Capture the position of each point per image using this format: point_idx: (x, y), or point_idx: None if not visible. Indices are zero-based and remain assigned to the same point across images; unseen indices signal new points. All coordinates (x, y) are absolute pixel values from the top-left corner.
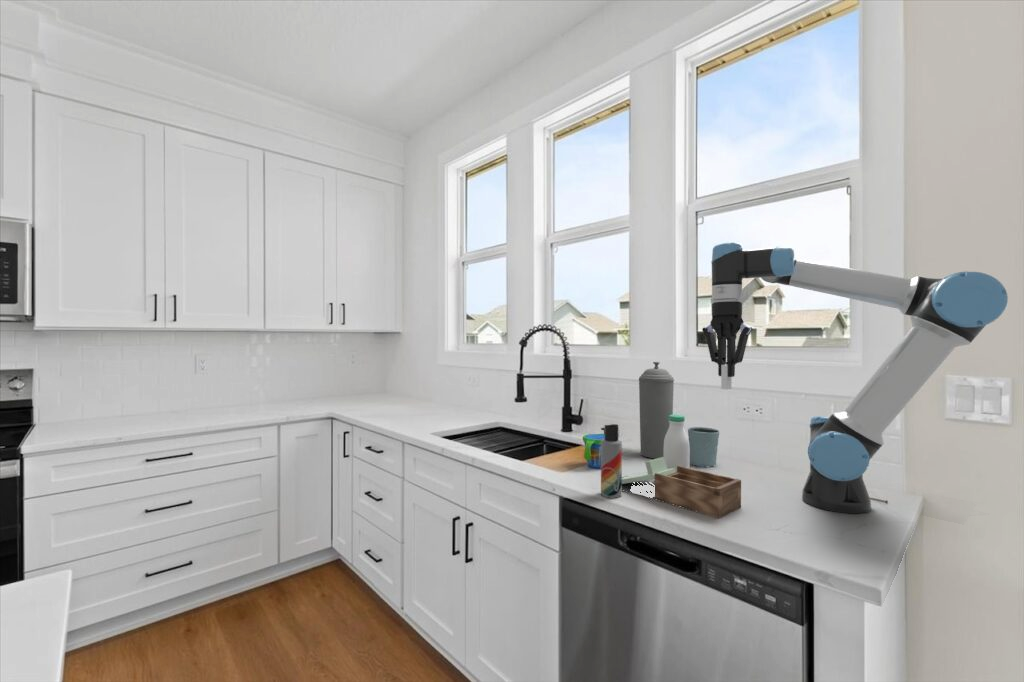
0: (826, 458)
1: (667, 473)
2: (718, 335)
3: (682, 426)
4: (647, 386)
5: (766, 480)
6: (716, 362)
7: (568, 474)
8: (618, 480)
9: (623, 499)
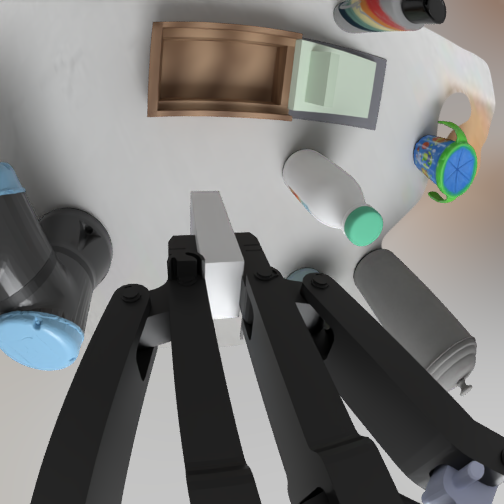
0: None
1: (293, 78)
2: (367, 475)
3: (340, 216)
4: (457, 331)
5: None
6: (292, 282)
7: (439, 80)
8: (348, 7)
9: (323, 8)
